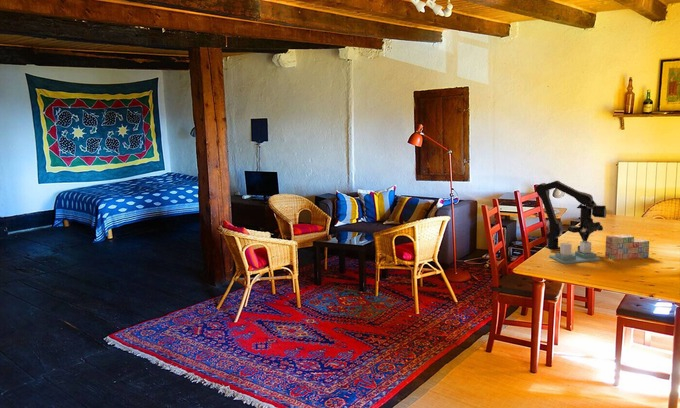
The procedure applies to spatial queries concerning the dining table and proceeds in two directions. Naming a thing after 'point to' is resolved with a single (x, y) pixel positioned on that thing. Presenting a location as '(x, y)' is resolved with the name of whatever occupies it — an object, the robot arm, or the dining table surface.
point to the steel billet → (585, 247)
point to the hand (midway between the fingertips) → (584, 242)
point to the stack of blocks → (626, 247)
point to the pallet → (572, 255)
